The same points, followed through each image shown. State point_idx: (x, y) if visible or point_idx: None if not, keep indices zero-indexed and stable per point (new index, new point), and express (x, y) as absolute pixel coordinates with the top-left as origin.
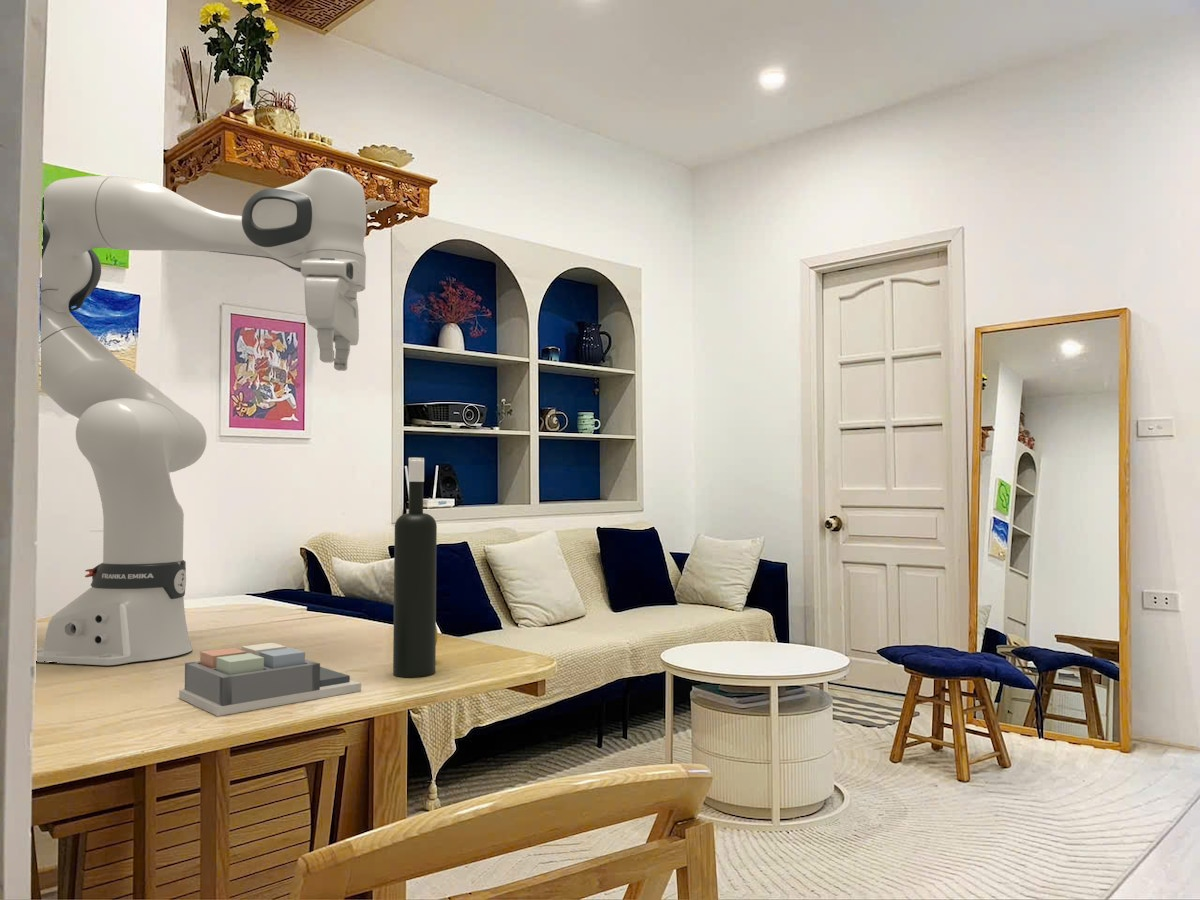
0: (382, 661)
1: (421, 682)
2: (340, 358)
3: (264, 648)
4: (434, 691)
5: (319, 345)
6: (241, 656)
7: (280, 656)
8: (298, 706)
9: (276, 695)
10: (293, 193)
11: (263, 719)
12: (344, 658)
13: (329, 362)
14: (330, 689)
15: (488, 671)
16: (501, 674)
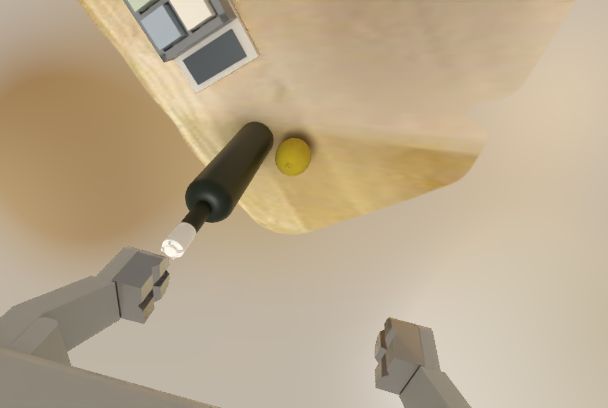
0: (316, 119)
1: (223, 139)
2: (409, 382)
3: (179, 8)
4: (192, 143)
5: (73, 285)
6: None
7: (145, 27)
8: None
9: None
10: None
11: (115, 14)
12: (342, 84)
13: (164, 272)
14: (180, 67)
15: (253, 190)
16: None
